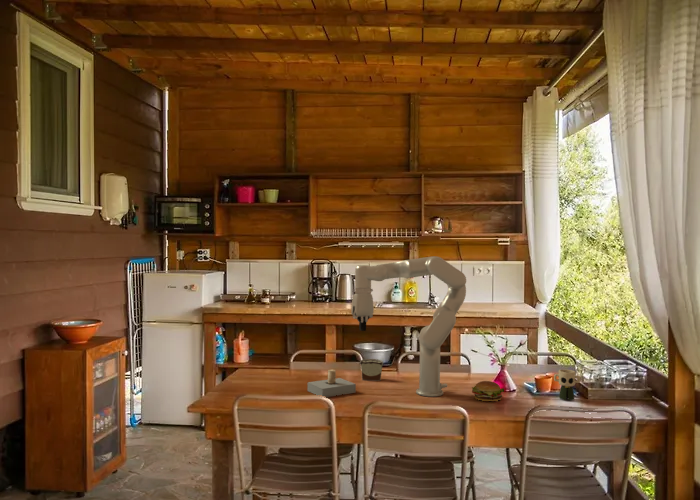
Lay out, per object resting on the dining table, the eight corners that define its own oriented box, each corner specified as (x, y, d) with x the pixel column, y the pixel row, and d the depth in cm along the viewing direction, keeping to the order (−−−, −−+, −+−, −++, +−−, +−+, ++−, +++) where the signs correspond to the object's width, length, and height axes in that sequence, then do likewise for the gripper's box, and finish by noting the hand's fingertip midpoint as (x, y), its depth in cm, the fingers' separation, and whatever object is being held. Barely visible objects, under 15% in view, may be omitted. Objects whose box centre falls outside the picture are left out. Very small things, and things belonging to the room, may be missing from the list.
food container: (383, 378, 287) (384, 359, 287) (383, 380, 281) (383, 361, 281) (360, 377, 288) (360, 358, 288) (359, 380, 282) (359, 360, 282)
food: (465, 399, 248) (465, 381, 248) (481, 393, 258) (481, 376, 258) (493, 405, 238) (493, 387, 238) (508, 399, 249) (508, 381, 249)
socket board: (339, 386, 269) (339, 377, 269) (355, 392, 257) (355, 383, 257) (307, 390, 259) (307, 382, 259) (322, 397, 248) (322, 388, 248)
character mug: (554, 400, 248) (554, 371, 248) (553, 396, 254) (553, 368, 254) (580, 402, 244) (580, 373, 244) (578, 398, 251) (579, 370, 251)
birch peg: (332, 390, 261) (333, 369, 261) (337, 392, 258) (337, 370, 258) (326, 391, 259) (326, 370, 259) (330, 393, 256) (330, 371, 256)
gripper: (371, 290, 265) (371, 328, 265) (345, 291, 257) (345, 330, 257) (380, 291, 259) (380, 330, 259) (354, 292, 251) (353, 332, 251)
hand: (362, 330), depth 258 cm, fingers closed
